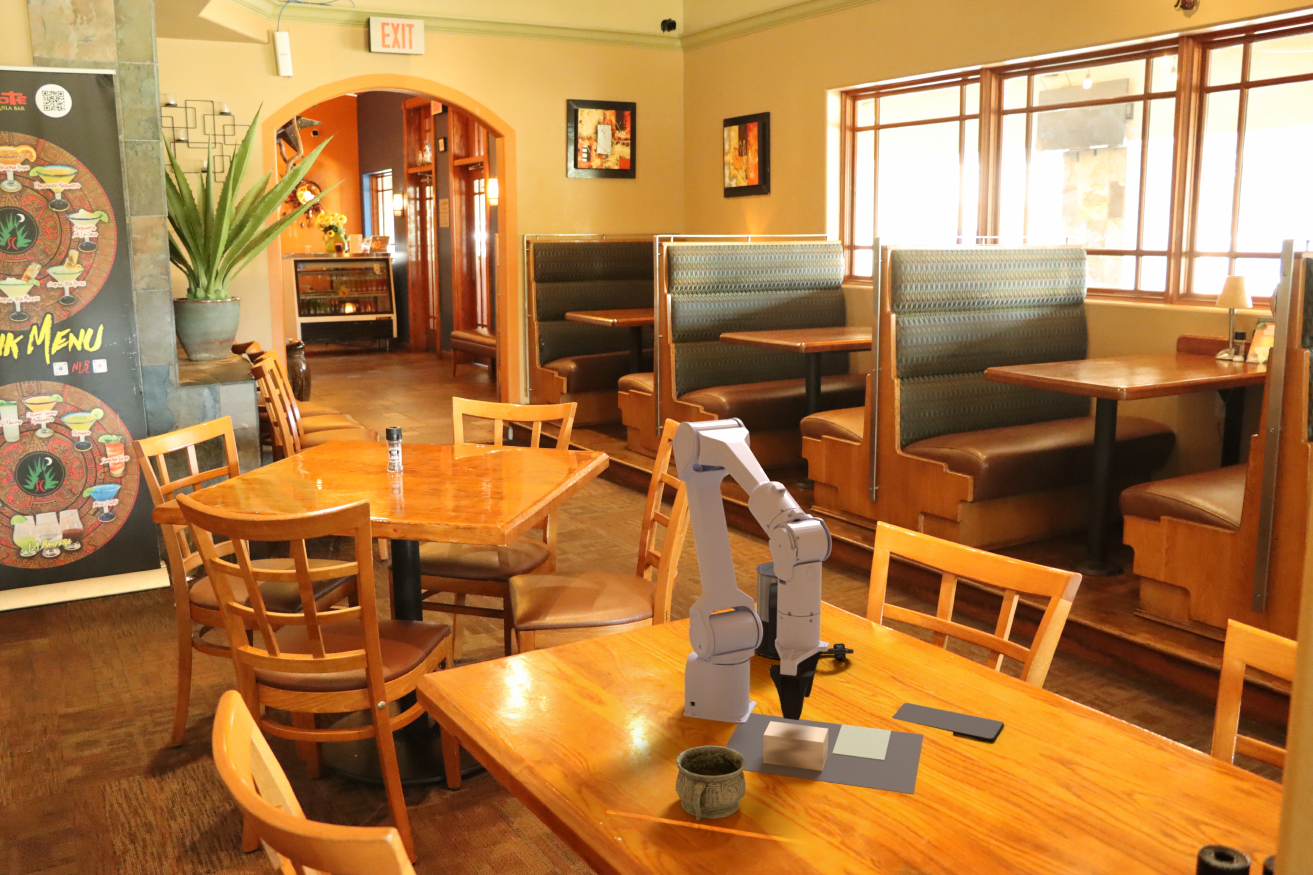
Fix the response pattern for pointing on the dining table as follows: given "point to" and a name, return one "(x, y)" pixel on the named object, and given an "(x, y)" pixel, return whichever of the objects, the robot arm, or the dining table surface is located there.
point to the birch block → (795, 745)
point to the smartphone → (951, 722)
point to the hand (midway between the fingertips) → (796, 706)
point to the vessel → (710, 781)
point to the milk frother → (768, 614)
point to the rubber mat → (840, 754)
